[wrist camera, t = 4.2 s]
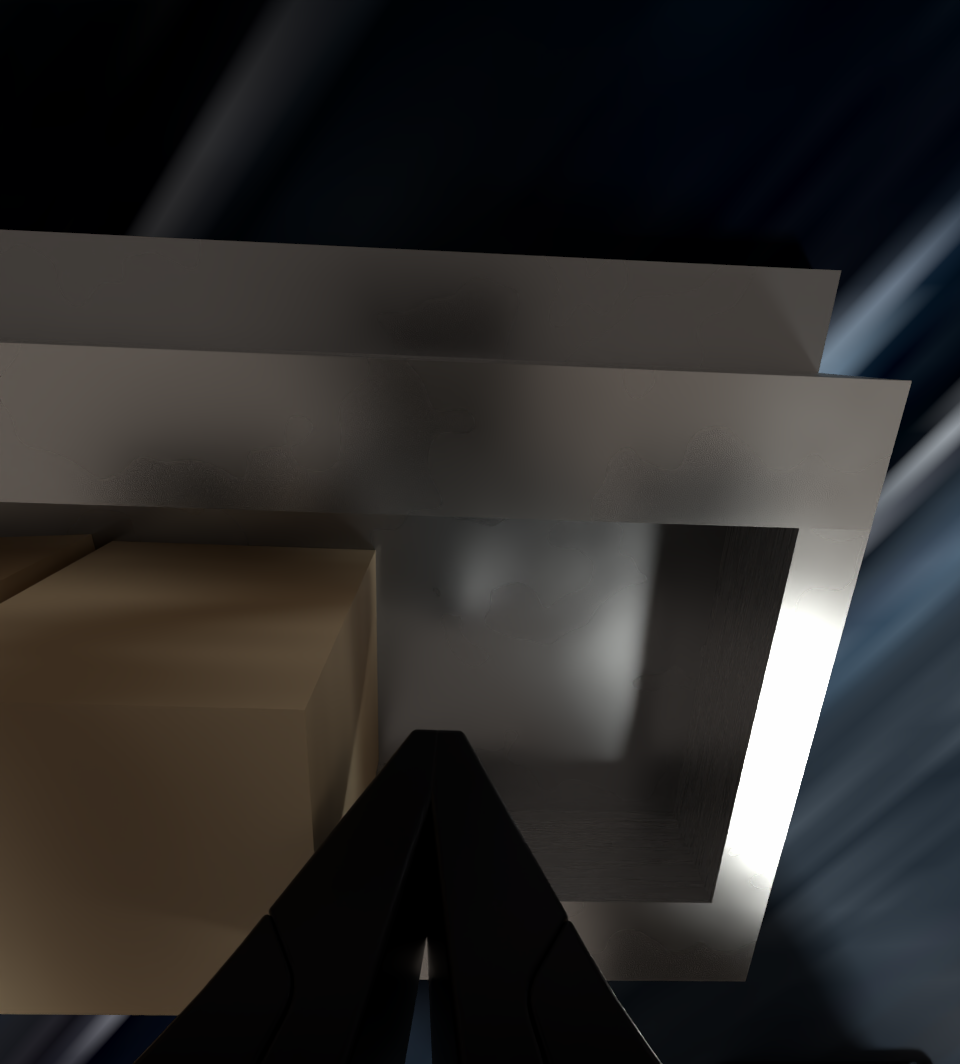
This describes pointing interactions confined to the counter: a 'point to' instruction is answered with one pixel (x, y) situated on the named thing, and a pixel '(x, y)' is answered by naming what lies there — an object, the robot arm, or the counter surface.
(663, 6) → the counter surface
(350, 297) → the rail board
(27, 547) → the chip
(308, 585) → the chip
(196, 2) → the counter surface
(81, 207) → the counter surface
